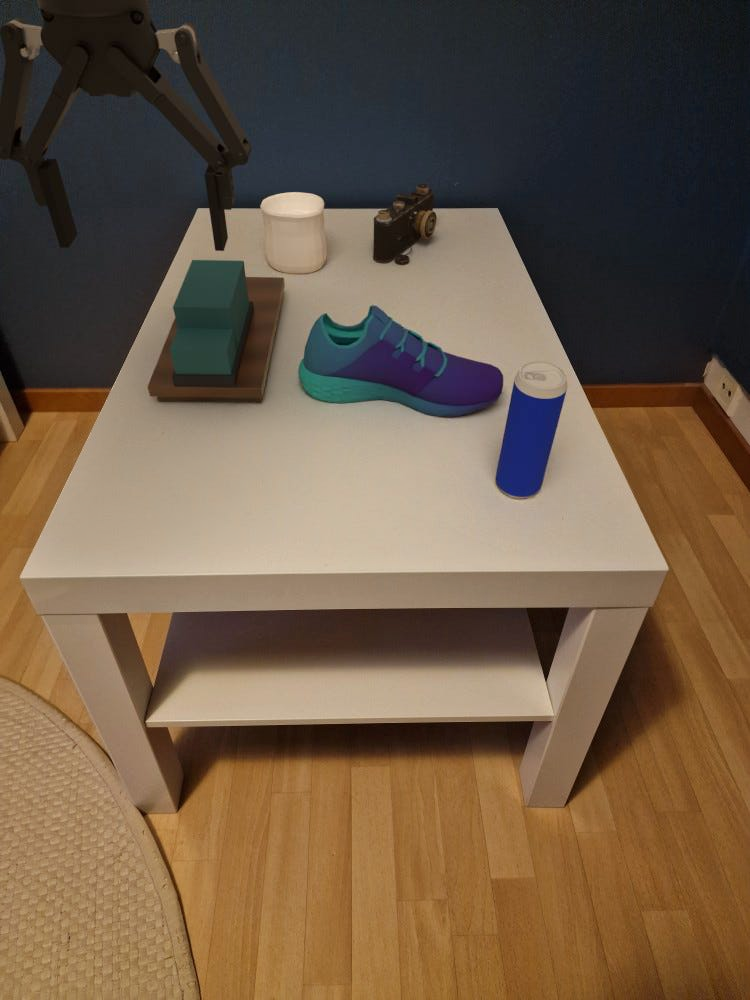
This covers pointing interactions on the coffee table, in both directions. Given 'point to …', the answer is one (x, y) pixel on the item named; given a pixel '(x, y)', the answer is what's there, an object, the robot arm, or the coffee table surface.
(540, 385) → the beverage can
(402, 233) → the camera
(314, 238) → the cup
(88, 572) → the coffee table surface
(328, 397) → the sneaker
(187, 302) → the teal stepped block
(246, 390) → the brown wooden board
